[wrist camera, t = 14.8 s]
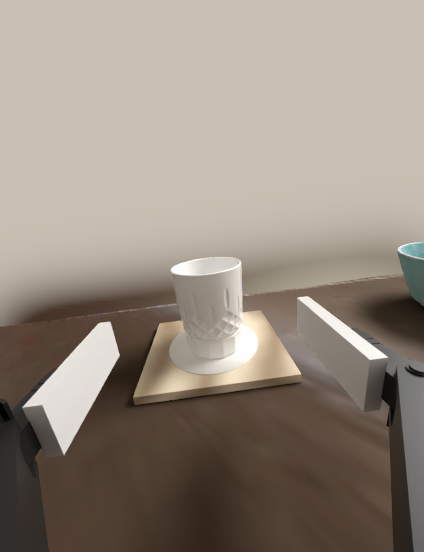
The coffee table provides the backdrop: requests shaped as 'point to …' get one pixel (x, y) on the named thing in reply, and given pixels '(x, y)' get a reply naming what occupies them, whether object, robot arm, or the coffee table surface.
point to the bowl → (413, 268)
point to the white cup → (210, 304)
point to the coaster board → (214, 364)
